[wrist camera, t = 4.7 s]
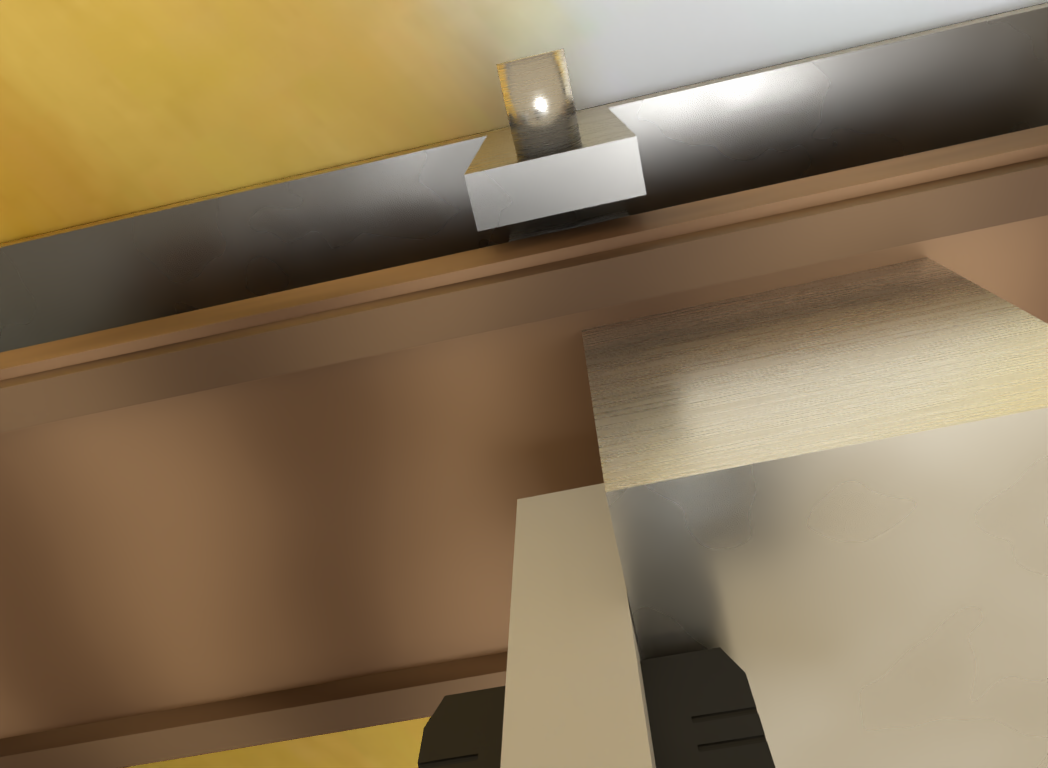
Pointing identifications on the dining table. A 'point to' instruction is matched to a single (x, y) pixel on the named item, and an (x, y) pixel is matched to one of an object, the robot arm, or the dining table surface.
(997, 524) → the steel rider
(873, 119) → the pivot stand
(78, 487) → the seesaw beam
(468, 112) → the dining table surface
